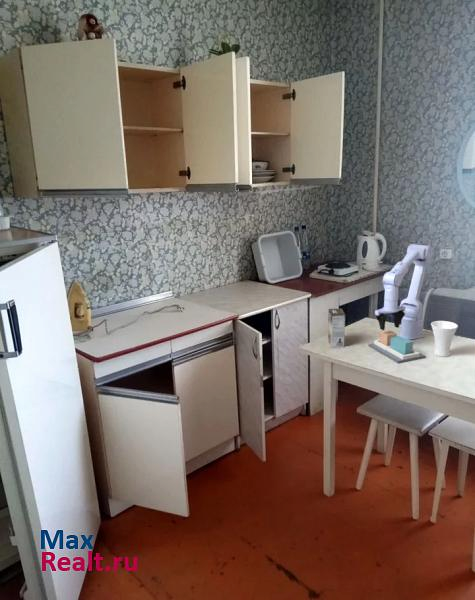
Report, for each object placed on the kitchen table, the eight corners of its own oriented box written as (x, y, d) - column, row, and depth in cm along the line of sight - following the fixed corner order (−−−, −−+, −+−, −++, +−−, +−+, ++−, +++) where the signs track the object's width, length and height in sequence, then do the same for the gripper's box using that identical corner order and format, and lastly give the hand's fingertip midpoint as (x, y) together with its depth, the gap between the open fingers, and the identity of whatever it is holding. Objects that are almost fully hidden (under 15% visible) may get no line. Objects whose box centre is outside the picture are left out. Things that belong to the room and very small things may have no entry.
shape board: (394, 341, 217) (394, 336, 216) (425, 357, 198) (425, 352, 197) (368, 346, 213) (368, 341, 212) (398, 363, 194) (398, 357, 193)
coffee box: (327, 340, 222) (328, 308, 217) (340, 340, 221) (341, 308, 217) (330, 347, 213) (331, 314, 208) (344, 347, 213) (345, 314, 208)
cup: (457, 359, 195) (460, 329, 192) (431, 358, 197) (433, 328, 194) (451, 350, 205) (454, 321, 201) (426, 349, 207) (429, 320, 203)
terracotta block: (389, 342, 214) (390, 330, 212) (396, 346, 209) (396, 333, 207) (380, 344, 212) (380, 331, 210) (386, 347, 207) (387, 335, 206)
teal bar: (397, 348, 206) (398, 335, 205) (412, 354, 200) (413, 341, 198) (390, 350, 204) (391, 338, 203) (404, 356, 198) (405, 343, 196)
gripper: (399, 294, 210) (397, 323, 214) (371, 299, 206) (370, 327, 209) (409, 298, 204) (407, 328, 207) (381, 303, 199) (379, 332, 203)
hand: (389, 328), depth 208 cm, fingers open, 7 cm apart
